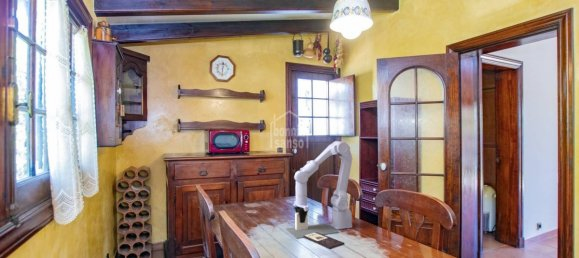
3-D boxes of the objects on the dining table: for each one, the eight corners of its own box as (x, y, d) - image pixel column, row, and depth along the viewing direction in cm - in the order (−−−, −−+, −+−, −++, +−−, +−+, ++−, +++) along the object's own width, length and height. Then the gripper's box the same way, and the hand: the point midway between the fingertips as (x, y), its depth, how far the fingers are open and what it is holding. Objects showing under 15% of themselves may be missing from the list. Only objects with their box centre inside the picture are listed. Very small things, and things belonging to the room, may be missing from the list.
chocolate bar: (329, 247, 127) (302, 236, 141) (329, 250, 127) (302, 238, 141) (344, 242, 132) (316, 232, 147) (344, 245, 132) (316, 233, 147)
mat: (325, 224, 160) (325, 223, 160) (338, 232, 147) (338, 231, 147) (286, 229, 152) (286, 228, 152) (296, 238, 139) (296, 237, 139)
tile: (306, 227, 154) (305, 211, 154) (307, 228, 152) (307, 212, 152) (295, 228, 152) (294, 212, 152) (296, 230, 150) (296, 214, 150)
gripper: (288, 192, 157) (289, 218, 157) (299, 198, 144) (299, 227, 144) (301, 191, 160) (301, 217, 160) (312, 197, 146) (312, 225, 146)
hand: (301, 221), depth 152 cm, fingers closed on tile, 2 cm apart
